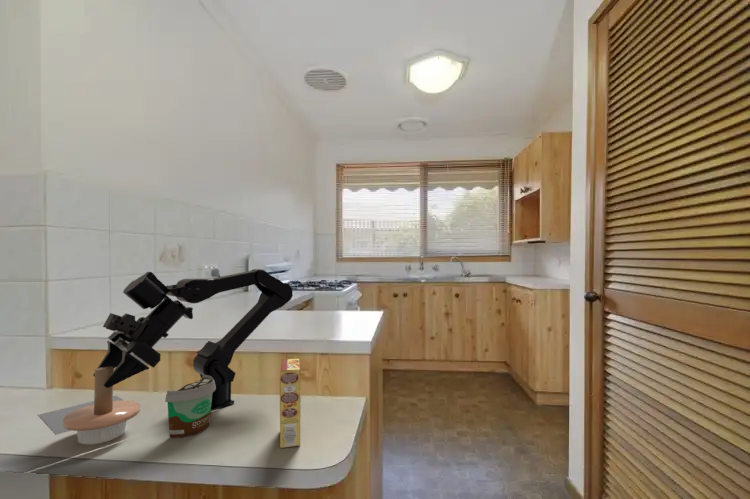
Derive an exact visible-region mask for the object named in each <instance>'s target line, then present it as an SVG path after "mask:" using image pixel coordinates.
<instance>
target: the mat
mask: <svg viewBox="0 0 750 499" xmlns="http://www.w3.org/2000/svg"><path fill="white" fill-rule="evenodd" d="M120 400H124V399H123V398H121V397H119V396H118V395H113V401H120ZM90 405H94V400H93V401H90V402H89V401H88V402H84V403H80V404H76V405H72V406H68V407H64V408H60V409H56V410H55V409H54V410H52V411H48V412H43V413H40V414H37V416H38V417H39V418H40V419H41V420H42V422H44V424H45V425H46V426H47V427H48V428H49V429H50V430H51V431H52V432H53V433H54V434H55V435H59V434H64V433H66V432H70V431H71V430H68V429H65V428H64V427H63V419H64V417H65V416H66V415H68V414H69V413H71V412H73V411H75V410H78V409H80V408H83V407H86V406H90Z"/></svg>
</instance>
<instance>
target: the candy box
mask: <svg viewBox="0 0 750 499" xmlns="http://www.w3.org/2000/svg"><path fill="white" fill-rule="evenodd" d="M300 362H301V361H300V358H289V359H287V358H285V359H281V362H280V372H279V375H280V376H279V377H280V379H279V439H280V440H279V443H280V444H279V447H280V449H282V448H283V449H284V448H290V447H300V446H301V425H302V424H301V421H302V420H301V417H302V414H301V412H302V411H301V409H302V408H301V407H302V404H301V402H302V400H301V399H302V395H301V394H302V393H301V391H302V388H301V385H302V382H301V381H302V380H301V363H300Z"/></svg>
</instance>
